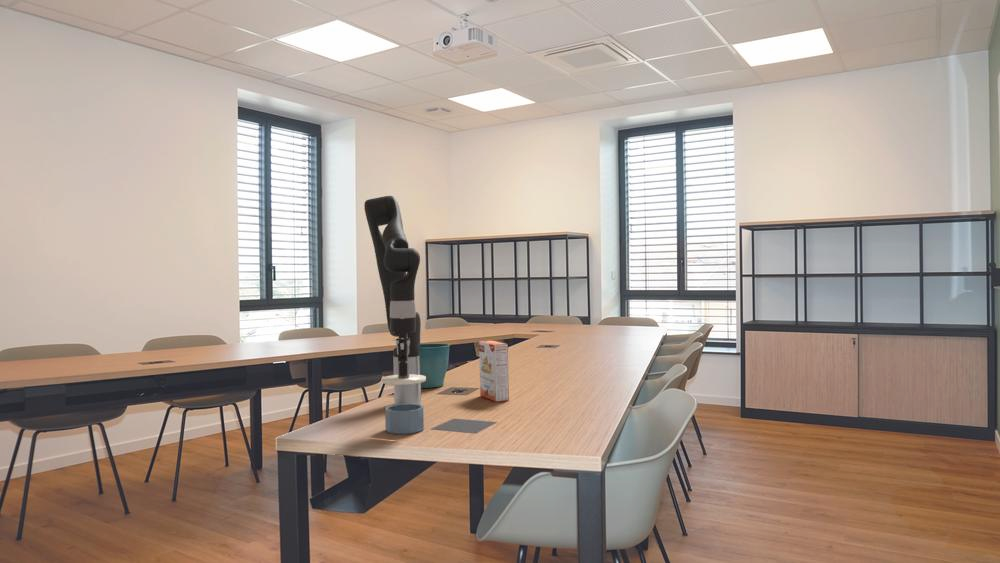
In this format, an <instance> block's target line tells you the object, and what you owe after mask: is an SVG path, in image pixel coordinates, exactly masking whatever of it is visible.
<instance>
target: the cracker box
mask: <svg viewBox="0 0 1000 563" xmlns="http://www.w3.org/2000/svg"><path fill="white" fill-rule="evenodd" d="M478 345H479V346H478V350H479V351H478V352H479V385H480V386H479V388H480V389H479V390H480V391H479V392H480V394H479V395H480V397H483V398H485V399H488V400H490V401H492V402H495V403H499V402H507V401H510V392H509V391H510V386H509V382H510V381H509V380H510V379H509V378H510V377H509V344H508V343H504V342H500V341H496V340H480V341H478Z"/></svg>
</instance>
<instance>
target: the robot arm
mask: <svg viewBox="0 0 1000 563" xmlns="http://www.w3.org/2000/svg"><path fill="white" fill-rule="evenodd" d="M363 205H364V208H363V209H364V214H365V216H366V217H365V218H366V221H367V225H368V229H369V232H370V236H371V240H372V245H373V248H374V254H375V259H376V266H377V270H378V276H379V280H380V284H381V288H382V292H383V298H384V305H385V311H386V312H385V315H386V321H387V322H386V323H387V329H388V332H389V334H390V335H391V336H392V337H396V339H395V344H396V347H394V348H393V352H392V353H393V355H392V356H393V358H392V359H393V375H398V362H399V375H400V376H406V375H407V362H408V359H409V374H415V375H420V364H419V350H420V344H421V325H422V324H421V322H422V321H421V315H420V313H419V312H418V311H416V303H415V302H416V301H415V284H416V279H417V274H418V271H419V268H420V263H421V256H420V253H419V251H418V250H417V249H416V248H413V247H412V248H411V247H409V242H408V240H407V237H406V234H405V231H404V227H403V219H402V215H401V210H400V206H399V202H398V200H397V198H396V197H394V196H393V195H384V196H380V197H374V198H370V199H366V200H365V202H364V204H363ZM381 226H385V228H384V229H383V231H382V232H381V230H380V228H379V227H381ZM421 403H422V388H421V383H417V384H407V385H393V405H397V404H419V405H421Z"/></svg>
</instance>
